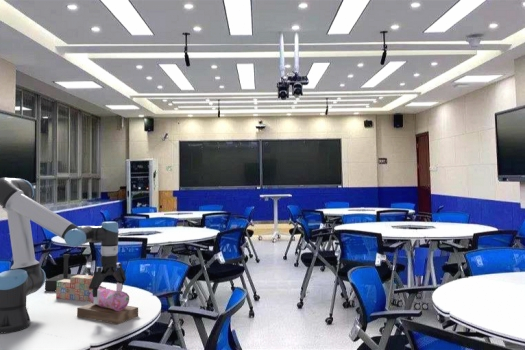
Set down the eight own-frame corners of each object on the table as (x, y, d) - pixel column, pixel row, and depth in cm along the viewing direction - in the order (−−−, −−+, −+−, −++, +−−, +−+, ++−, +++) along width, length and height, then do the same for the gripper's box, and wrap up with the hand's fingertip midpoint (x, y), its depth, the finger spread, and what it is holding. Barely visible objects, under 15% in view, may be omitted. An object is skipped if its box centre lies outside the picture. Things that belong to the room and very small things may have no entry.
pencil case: (86, 305, 186) (87, 286, 187) (104, 301, 194) (105, 283, 194) (112, 314, 174) (112, 293, 174) (130, 309, 181) (130, 289, 181)
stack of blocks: (55, 298, 214) (56, 275, 215) (64, 295, 220) (65, 273, 221) (88, 301, 208) (89, 278, 209) (96, 298, 214) (97, 276, 215)
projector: (72, 291, 229) (73, 257, 230) (44, 291, 229) (45, 257, 230) (86, 284, 248) (87, 252, 249) (60, 284, 248) (61, 252, 249)
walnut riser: (117, 324, 172) (117, 315, 172) (77, 316, 183) (77, 307, 183) (138, 316, 184) (138, 307, 184) (99, 309, 195) (99, 300, 195)
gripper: (93, 259, 172) (91, 308, 171) (134, 251, 195) (133, 295, 194) (81, 257, 175) (79, 305, 174) (123, 250, 198) (121, 293, 197)
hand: (107, 300), depth 184 cm, fingers open, 13 cm apart
